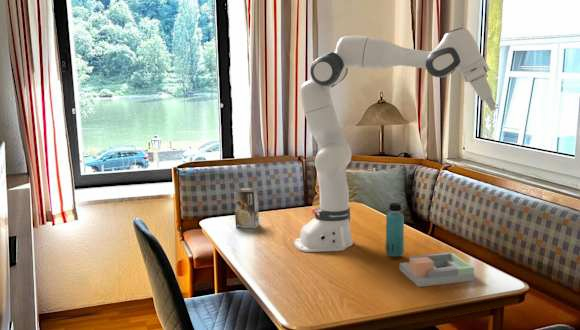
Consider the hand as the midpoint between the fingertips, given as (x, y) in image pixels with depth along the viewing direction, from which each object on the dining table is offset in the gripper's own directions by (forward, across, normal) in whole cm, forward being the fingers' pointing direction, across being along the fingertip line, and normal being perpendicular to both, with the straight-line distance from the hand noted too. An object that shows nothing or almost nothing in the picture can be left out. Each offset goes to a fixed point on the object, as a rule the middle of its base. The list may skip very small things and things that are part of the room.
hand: (493, 108), depth 201 cm
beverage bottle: (+32, +10, -52) cm, 62 cm away
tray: (+39, +23, -38) cm, 60 cm away
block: (+35, +29, -41) cm, 62 cm away
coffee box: (+2, -12, -111) cm, 111 cm away
